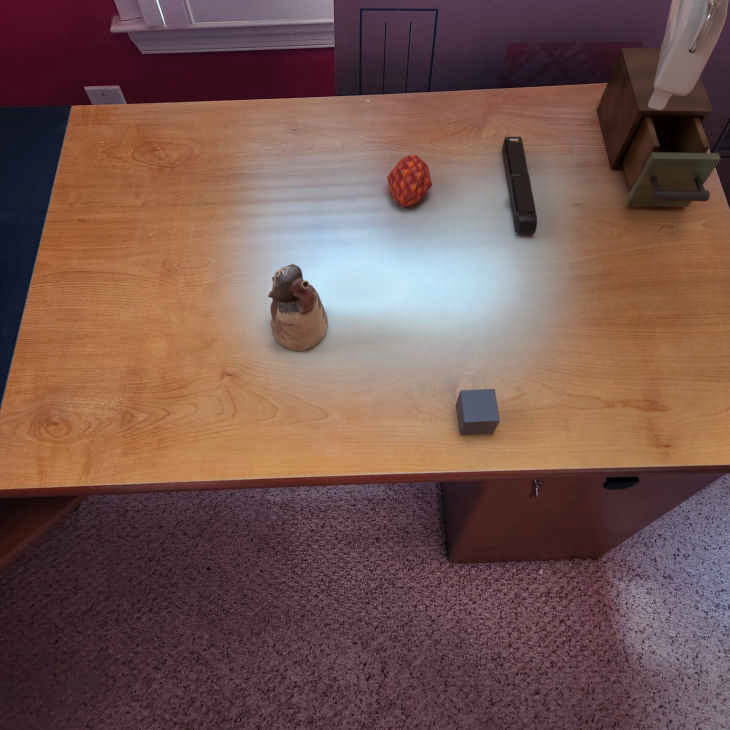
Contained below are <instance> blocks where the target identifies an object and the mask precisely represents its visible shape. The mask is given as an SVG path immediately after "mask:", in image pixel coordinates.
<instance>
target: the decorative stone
mask: <svg viewBox="0 0 730 730" xmlns="http://www.w3.org/2000/svg"><path fill="white" fill-rule="evenodd" d="M386 178H387V183H388V188H389V191H390V196H391V198H392V199H393V200H394V201H395V202H396V203H398V204H399V205H400V206H401V207H402V208H405V207H409V206H413V205H415V204H418V203H419V202H420V201H421V200H422V198H424V196H425V195H426V194H427V192H428V191H429V190H430V189H431V188H432V186H433V182H432V178H431V173H430V170H429V165H428V164H427V163H426V162H425V161H424V160H423V159H422V158H421V157H419V155H417V154H411V155H410V154H409V155H406V156H405V157H403V158H402V159H400V160H399V161H398V162H397V164H396V165H395V166H394V167H393V168H392V170H391V171H390V172H389V173H388V174H387V175H386Z"/></svg>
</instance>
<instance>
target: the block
mask: <svg viewBox="0 0 730 730" xmlns="http://www.w3.org/2000/svg"><path fill="white" fill-rule="evenodd" d="M455 408H456V417H457V425H458V433H459V436H469V435H471V436H472V435H493V434H494V433H495V431H496V429H497V427H498V426H499V424H500V422H501V419H500V413H499V406H498V401H497V395H496V389H495V388H485V389H461V390H460V391H459V394H458V397H457V400H456V403H455Z"/></svg>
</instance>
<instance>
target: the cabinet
mask: <svg viewBox="0 0 730 730" xmlns="http://www.w3.org/2000/svg"><path fill="white" fill-rule="evenodd" d="M659 52H660V48H654V47H653V48H650V47H648V48H646V47H644V48H643V47H640V48H639V47H621V48H620V50H619V54H618V56H617V58H616V60H615V62H614V66H613V68H612V71H611V73H610V75H609V78H608V81H607V83H606V85H605V87H604V90H603V92H602V95H601V97H600V100H599V102H598V105H597V107H596V114H597V118H598V121H599V126H600V130H601V134H602V138H603V143H604V147H605V151H606V155H607V160H608V163H609V168H610V170H611V171H612V170H613V171H615V170H616V171H621V170H622V171H624V168H623V164H622V160H621V158H622V156H623V154H624V152H625V150H626V148H627V146H628V144H629V142H630V140H631V138H632V136H633V134H634V132H635V130H636V128H637V126H638V123H639V121H640V119H641V117H642V115H678V116H699V118H700V121H701V124H702V127H703V128H704V127H705V125H706V124H707V122H708V121H709V119H710V117H711V115H712V114H713V112H714V110H713V107H712V104H711V102H710V99H709V97H708V94H707V91H706V89H705V86H704V84H703V81H702V78H701V75H700V76H699V78H698V80H697V82H696V84H695V86H694V88H693V89H692V91H691V92H690V93H689V94H687V95H686V96H677V95H672V96H671V97H670V98H669V100H668V102H667V104H666V106H665V108H664V109H662V110H657V109H652V108H649V107H648V102H649V98H650V95H651V93H652V91H653V89H654V81H655V76H656V72H657V67H658V63H659V58H660V57H659Z"/></svg>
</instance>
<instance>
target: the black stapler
mask: <svg viewBox="0 0 730 730" xmlns="http://www.w3.org/2000/svg"><path fill="white" fill-rule="evenodd" d="M501 148H502V149H501V154H502V159H503V166H504V172H505V179H506V183H507V190H508V196H509V202H510V209H511V215H512V222H513V228H514V233H515V234H516V235H520V234H521V235H530V234H532V235H533V234H535V233H536V232H537V231H536V230H537V226H538V215H537V212H536V211H537V209H536V205H535V199H534V193H533V189H532V184H531V178H530V174H529V168H528V162H527V158H526V153H525V148H524V142H523V139H522V137H521V136H505V137H504V139H503V143H502V147H501Z"/></svg>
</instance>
